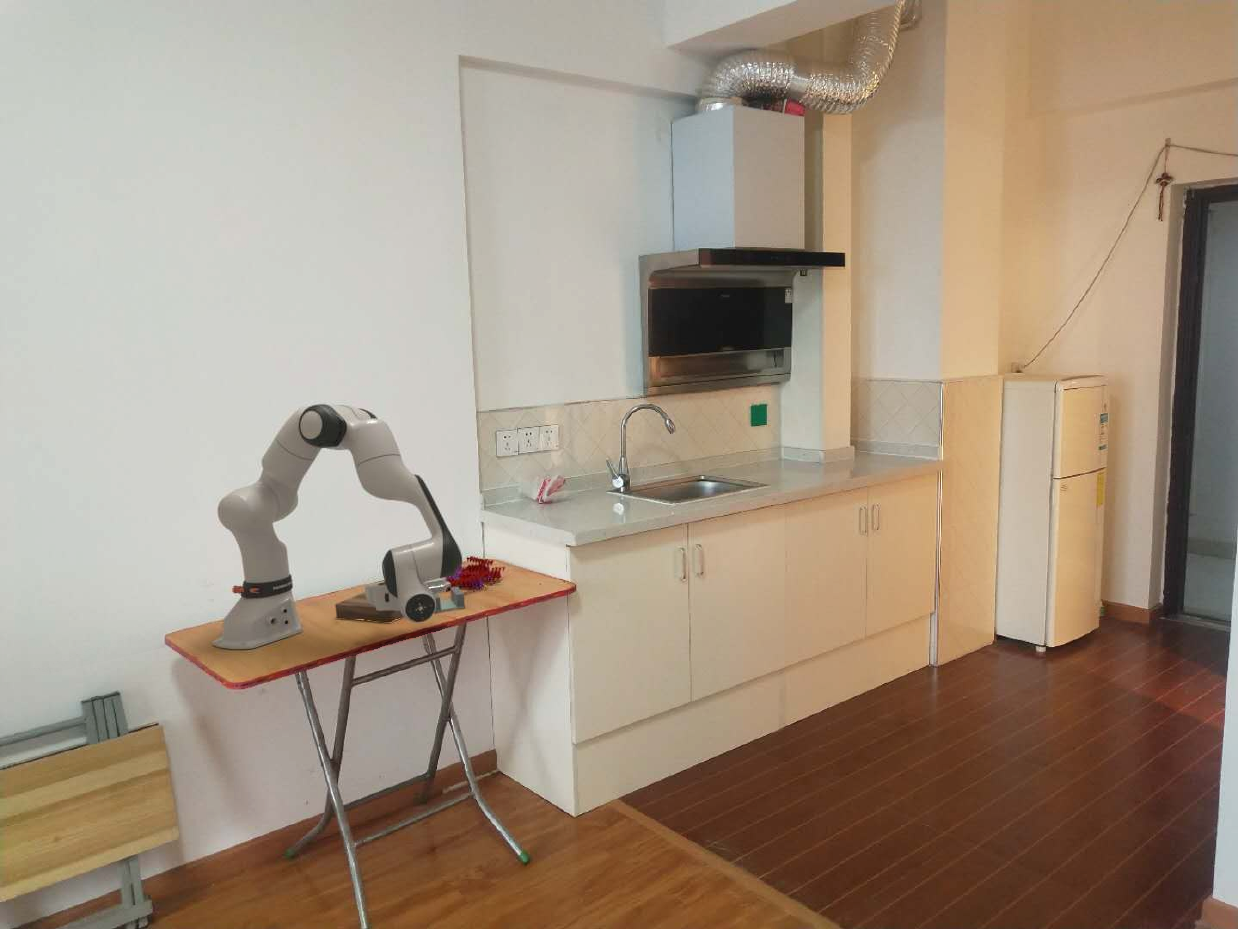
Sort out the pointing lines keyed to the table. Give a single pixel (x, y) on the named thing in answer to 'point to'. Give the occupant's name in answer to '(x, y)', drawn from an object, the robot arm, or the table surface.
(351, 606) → the deck
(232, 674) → the table surface
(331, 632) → the table surface
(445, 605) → the rack
